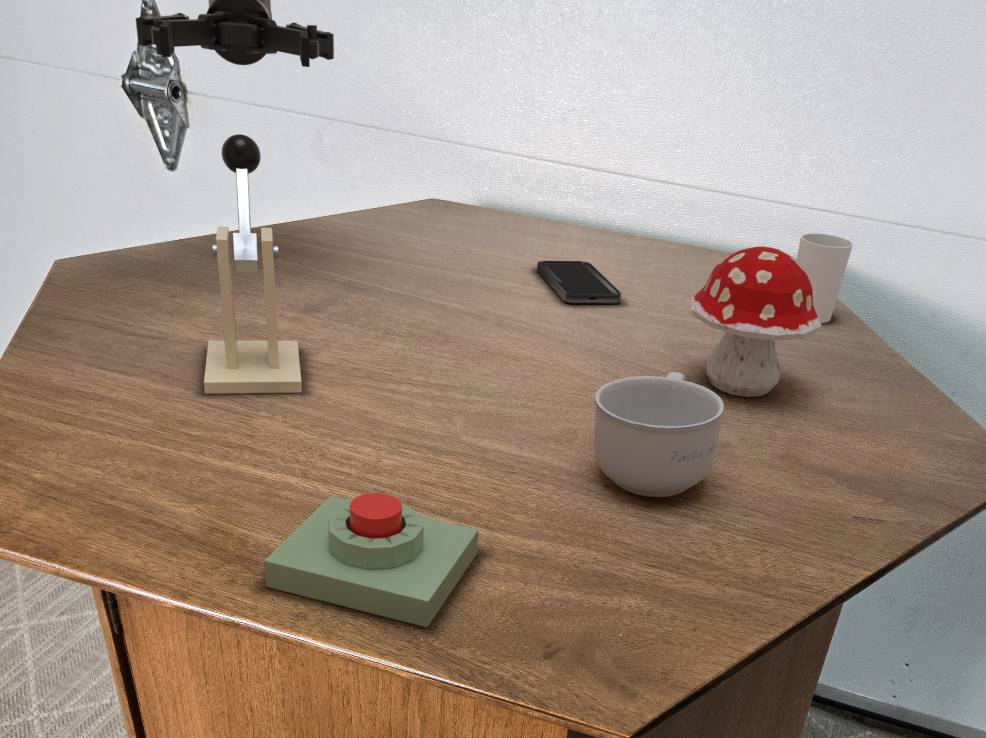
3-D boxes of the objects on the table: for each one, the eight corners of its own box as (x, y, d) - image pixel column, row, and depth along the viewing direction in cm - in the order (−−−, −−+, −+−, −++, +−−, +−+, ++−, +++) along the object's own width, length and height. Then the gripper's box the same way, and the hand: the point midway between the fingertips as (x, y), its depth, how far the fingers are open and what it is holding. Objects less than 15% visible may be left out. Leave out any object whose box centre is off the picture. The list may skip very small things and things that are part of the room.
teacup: (680, 524, 80) (697, 436, 76) (563, 485, 84) (573, 399, 80) (736, 463, 91) (753, 383, 87) (630, 430, 95) (642, 352, 91)
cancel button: (341, 533, 68) (340, 511, 67) (363, 509, 71) (363, 488, 70) (389, 545, 67) (389, 523, 66) (409, 520, 70) (410, 499, 69)
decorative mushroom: (650, 374, 108) (671, 236, 100) (736, 354, 116) (762, 225, 108) (743, 422, 99) (775, 275, 91) (830, 397, 107) (866, 260, 99)
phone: (588, 261, 139) (623, 294, 127) (587, 269, 140) (622, 303, 128) (534, 260, 137) (565, 294, 125) (534, 268, 138) (564, 303, 126)
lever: (222, 146, 96) (219, 125, 92) (260, 148, 97) (259, 127, 93) (228, 274, 94) (225, 257, 90) (266, 274, 95) (265, 258, 91)
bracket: (209, 351, 102) (196, 216, 95) (297, 351, 105) (292, 219, 97) (204, 394, 93) (190, 248, 86) (301, 392, 96) (295, 251, 88)
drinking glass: (824, 327, 127) (843, 250, 122) (776, 314, 130) (793, 238, 125) (841, 316, 132) (860, 241, 127) (794, 304, 135) (811, 230, 130)
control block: (265, 586, 68) (262, 537, 66) (331, 519, 76) (330, 474, 74) (427, 628, 65) (429, 578, 63) (477, 554, 74) (480, 508, 72)
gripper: (122, -20, 111) (97, -7, 94) (346, 0, 117) (361, 15, 100) (130, 53, 115) (108, 79, 98) (346, 69, 121) (361, 95, 104)
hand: (236, 47), depth 99 cm, fingers open, 13 cm apart
